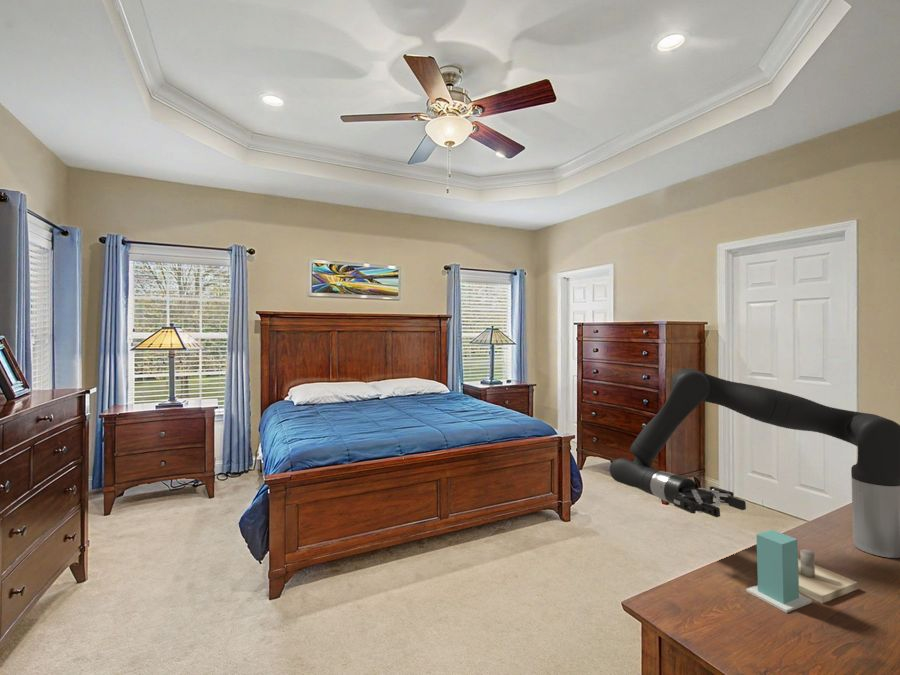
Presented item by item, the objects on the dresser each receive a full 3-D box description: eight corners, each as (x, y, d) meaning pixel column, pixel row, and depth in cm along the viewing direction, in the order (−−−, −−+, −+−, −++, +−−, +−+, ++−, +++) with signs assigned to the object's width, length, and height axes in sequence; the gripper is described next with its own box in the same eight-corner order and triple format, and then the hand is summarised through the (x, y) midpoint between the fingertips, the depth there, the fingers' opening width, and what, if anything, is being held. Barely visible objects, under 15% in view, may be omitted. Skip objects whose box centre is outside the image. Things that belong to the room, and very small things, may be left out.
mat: (770, 582, 98) (770, 580, 98) (812, 602, 90) (811, 600, 90) (745, 591, 95) (745, 589, 95) (786, 612, 87) (786, 610, 87)
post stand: (795, 562, 105) (795, 535, 105) (857, 589, 94) (856, 558, 94) (761, 574, 101) (760, 545, 101) (822, 603, 90) (821, 571, 90)
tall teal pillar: (773, 585, 96) (771, 529, 96) (799, 597, 91) (797, 539, 91) (757, 591, 94) (756, 534, 94) (783, 604, 89) (781, 544, 89)
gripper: (652, 479, 115) (709, 498, 100) (692, 470, 121) (752, 487, 106) (653, 508, 115) (711, 532, 100) (693, 498, 121) (753, 519, 106)
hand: (732, 509), depth 103 cm, fingers open, 8 cm apart
